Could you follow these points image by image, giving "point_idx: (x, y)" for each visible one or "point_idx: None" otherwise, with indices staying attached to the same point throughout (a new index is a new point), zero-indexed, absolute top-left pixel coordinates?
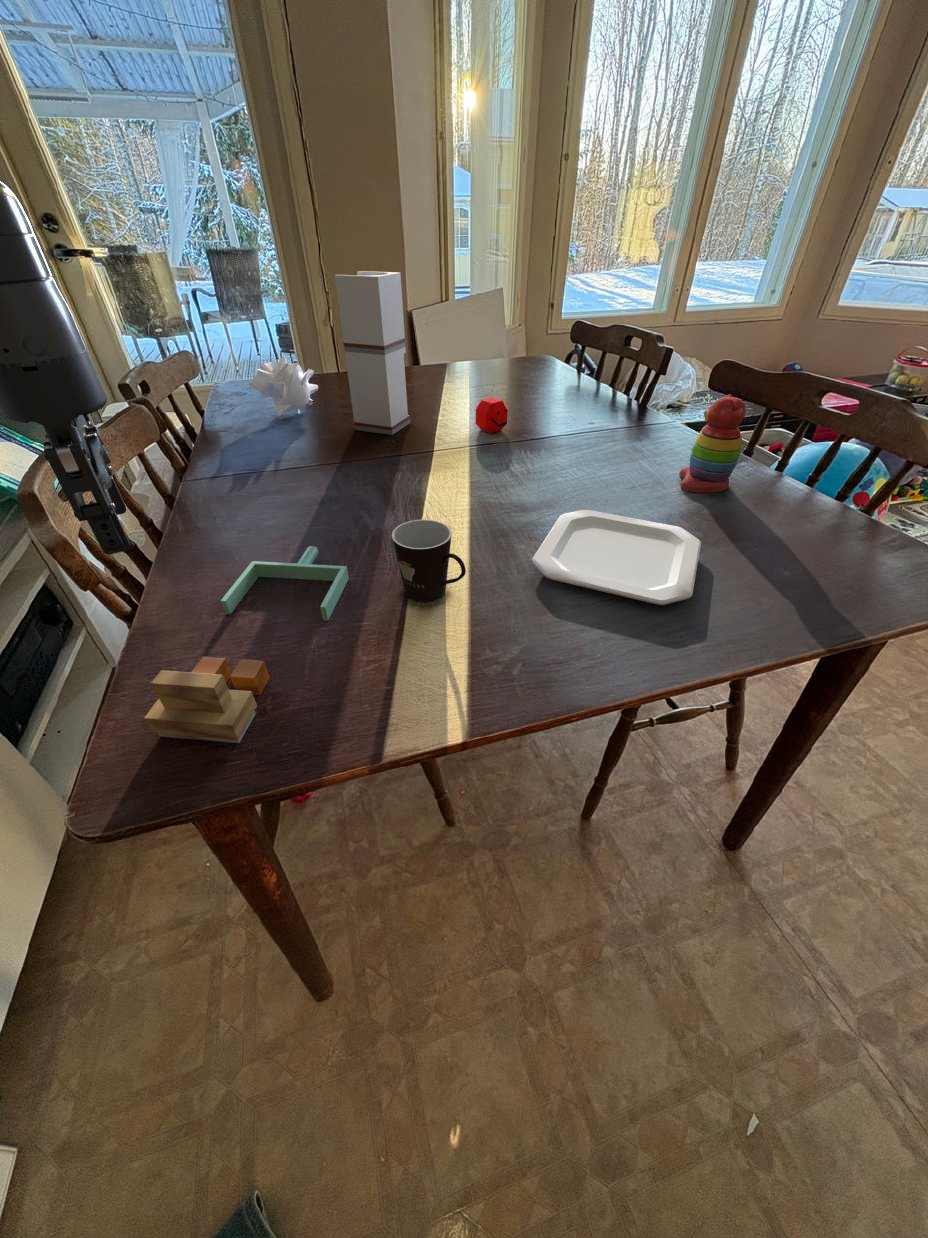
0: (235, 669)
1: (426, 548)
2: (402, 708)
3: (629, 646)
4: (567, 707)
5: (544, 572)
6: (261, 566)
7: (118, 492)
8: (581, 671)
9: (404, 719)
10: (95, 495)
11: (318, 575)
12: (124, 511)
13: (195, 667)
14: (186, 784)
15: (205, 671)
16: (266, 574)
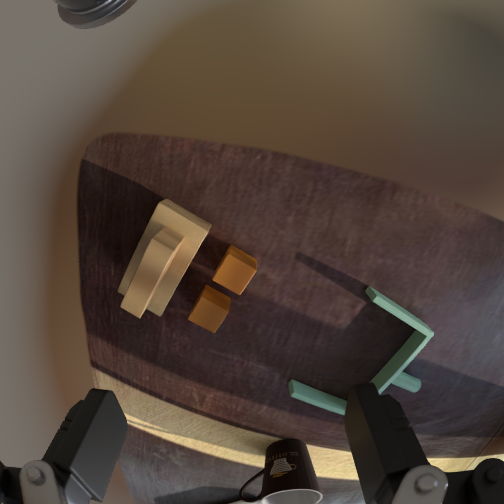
0: (211, 304)
1: (261, 499)
2: (137, 396)
3: (161, 491)
4: None
5: (246, 502)
6: (420, 340)
7: (357, 470)
8: (146, 471)
9: (126, 392)
10: (369, 440)
11: None
12: (345, 422)
13: (237, 260)
14: (101, 226)
15: (223, 271)
16: (412, 337)
